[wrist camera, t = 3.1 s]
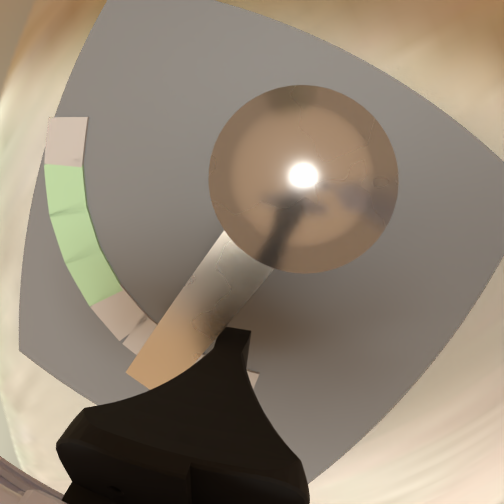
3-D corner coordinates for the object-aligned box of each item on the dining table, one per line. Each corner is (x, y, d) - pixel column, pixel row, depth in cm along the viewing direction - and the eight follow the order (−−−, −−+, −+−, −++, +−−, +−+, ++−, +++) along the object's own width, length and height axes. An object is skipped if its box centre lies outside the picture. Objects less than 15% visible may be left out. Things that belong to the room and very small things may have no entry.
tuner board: (521, 188, 11) (534, 192, 10) (302, 477, 18) (301, 489, 17) (123, -11, 10) (113, -19, 9) (24, 341, 17) (15, 349, 16)
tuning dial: (286, 86, 10) (283, 49, 6) (382, 162, 11) (432, 169, 7) (120, 330, 14) (73, 385, 10) (194, 383, 15) (167, 449, 10)
